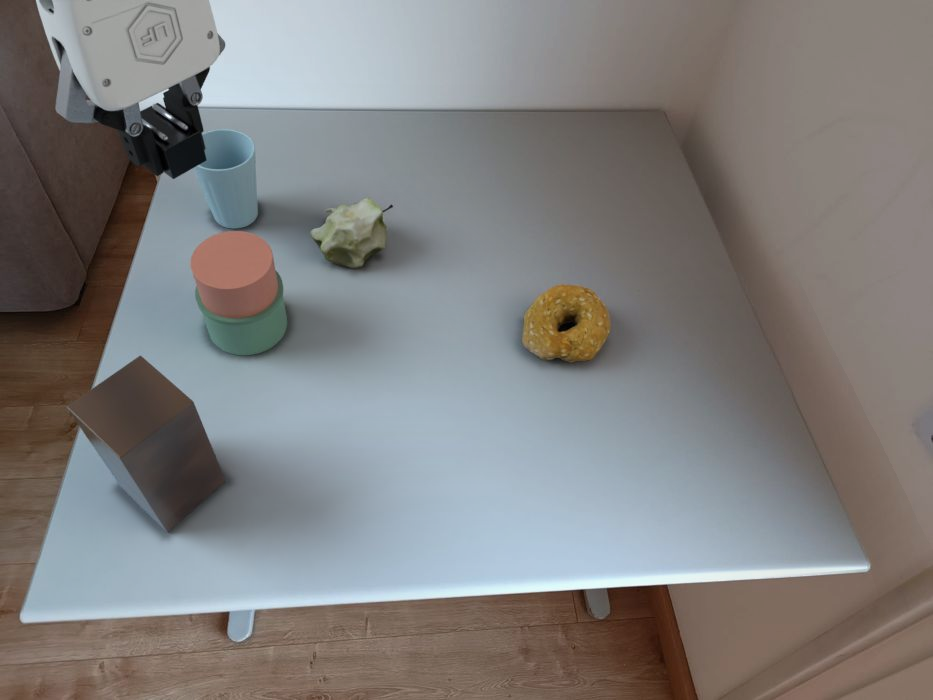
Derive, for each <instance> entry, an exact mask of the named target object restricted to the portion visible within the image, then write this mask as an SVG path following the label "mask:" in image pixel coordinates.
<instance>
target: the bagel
mask: <svg viewBox="0 0 933 700" xmlns="http://www.w3.org/2000/svg"><path fill="white" fill-rule="evenodd" d="M610 319H611V318H610V314H609V310H608V308H607V306H606V304H605V303H604V302H603V301H602V300H601V299H600V297H599V296H598V295H597V293H596V292H595V291H593V290H592V289H591V288H589V287H585V286H582V285H574V284H569V283H568V284H564V283H559V284H557V285H555V286H552V287H550V288H549V289H547V290H546V291H545V292H543V293H542V294H540V295H538V296H537V297H536V298H535V300H534V301H533V302H532V304H531V305H530V307H529V308H528V309H527V310H526V312H525V313H524V316H523V327H522V339H521V342H522V345H523V346H524V348H526V349H527V350H528V351H529V352H530V353H532V354H533V355H535V356H536V357H537V358H540V359H541V360H543V361H550V360H551V361H553V360H554V359H561V361H565V362H569V363H575V362H586V361H587V362H588V361H590V360H592V359H594V357H595V356H596V355H597V354H598V353H599V351H601V349H602V347H603V345H604V344H605V343H606V340H607V339H608V337H609V335H610V333H611V320H610ZM571 322H572V323H573V324H574V326H572V327H571V328H569V329H567V330H563V331H560V330H559V329H560V327H561V326H562V325H564V324H569V323H571Z"/></svg>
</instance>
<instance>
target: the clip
mask: <svg viewBox="0 0 933 700" xmlns="http://www.w3.org/2000/svg"><path fill="white" fill-rule="evenodd" d="M140 113H141V118H142V123H143V125H144V126H146V127H147V128H148V129H150V130H151V131H152V133H153V135H154V138H155V141H156V147H157V150H158V153H159V156H160V159H161V162H162V165H163V169H164V171H163V174H166V175H167V176H168V177H170V178H171V179H172V180H175V179H176V178H178V177H180V176H182V175H184V174H186V173H187V172H189V171H191V170H192V169H193V168H194V167H196V166H198V165H200V164H201V163H203V162H205V161H206V160H207V159H206V155H205V151H204V147H203V143H202V139H201V136H200V132H199V131H198V130H197V129H195V128H194V127H192V126H191V125H189V124H188V123H186V122H185V121H183V120H182V119H181V118H179V117H178V116H176V115H175V114H173V113H172V112H170V111H169V110H167V109H166V107H165V106H164V105H162V104H160V103H159V102H156V103H153V104H152V105H150V106H148V107H145V108H144V109H142V110H140ZM193 170H194V169H193Z"/></svg>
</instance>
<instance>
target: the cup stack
mask: <svg viewBox="0 0 933 700" xmlns="http://www.w3.org/2000/svg"><path fill="white" fill-rule="evenodd" d="M189 265H190V270H191V273H192V277H193V279H194V282H195V284H196V286H195V290H194V297H195V301H196V304H197V307H198V309H199V310H200V312H201V314H202V317H203V319H204V323H205V326H206V328H207V332H208V335H209V337H210V340H211V342H212V343H213V344H214V345H215V347H217V348H218V349H220V350H221V351H223V352H225V353H228V354H230V355H235V356H254V355H258V354H261V353H263V352H266V351H268V350H270V349H272V348H273V347H275V346H276V345H277V344H278V343H279V342H280V341H281V340H282V338H283V337H284V336H285V334H286V331H287V328H288V316H287V312H286V304H285V299H284V283H283V280H282V277H281V275H280V274H279V272H278V271H277V269H276V266H275V259H274V254H273V250H272V248H271V246H270V245H269V244H268V242H267V241H266V240H265V239H264V238H263V237H261V236H259V235H256V234H254V233H251V232H248V231H242V230H229V231H224V232H219V233H217V234H214V235H211V236H209V237H208V238H206V239H204V240H203V241H201V242H200V243H199V244H198V245H197V246H196V247H195V249H194V250H193V252H192V254H191V257H190V264H189Z"/></svg>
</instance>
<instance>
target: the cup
mask: <svg viewBox="0 0 933 700" xmlns="http://www.w3.org/2000/svg"><path fill="white" fill-rule="evenodd" d="M202 136H203V140H204V144H205V148H206V149H205V150H204V151H205V155H206V159H207V160H206V161H205V162H203V163H201V164H200V165H198V166H196V167H194V168H193V171H194V174H195V176H196V178H197V180H198V183H199V185H200V187H201V190H202V192H203V195H204V197H205V200H206V202H207V204H208V206H209V209H210V211H211V214H212V216H213V218H214V220H215V221H216V223H217V224H218V225H220V226H221V227H224V228H225V229H226V228H227V229H233V230H234V229H236V230H237V229H242V228H245V227H248V226H249V225H251V224H253V223H254V222H255V221H256V219H257V217H258V215H259V209H258V207H259V205H258V187H257V185H258V184H257V167H256V166H257V165H256V145H255V143H254V141H253V139H252V138H251V137H250V136H249V135H247V134H246V133H244V132H242V131H239V130H236V129H230V128H217V129H212V130H208V131H205V132H202Z"/></svg>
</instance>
